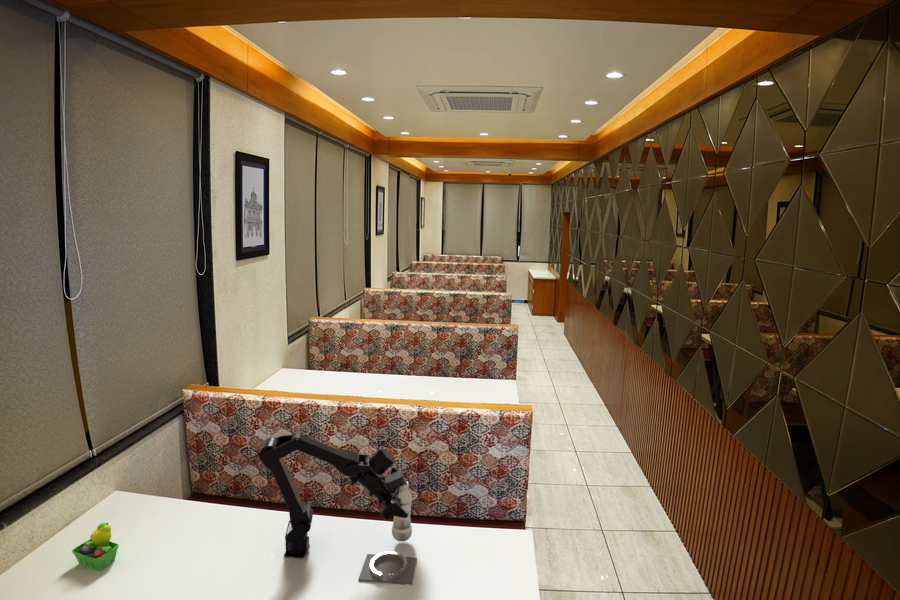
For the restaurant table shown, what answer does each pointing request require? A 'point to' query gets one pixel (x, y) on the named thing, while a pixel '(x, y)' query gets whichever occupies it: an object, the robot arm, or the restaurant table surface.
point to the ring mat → (388, 570)
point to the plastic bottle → (401, 525)
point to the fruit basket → (97, 549)
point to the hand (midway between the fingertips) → (406, 511)
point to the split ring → (388, 555)
